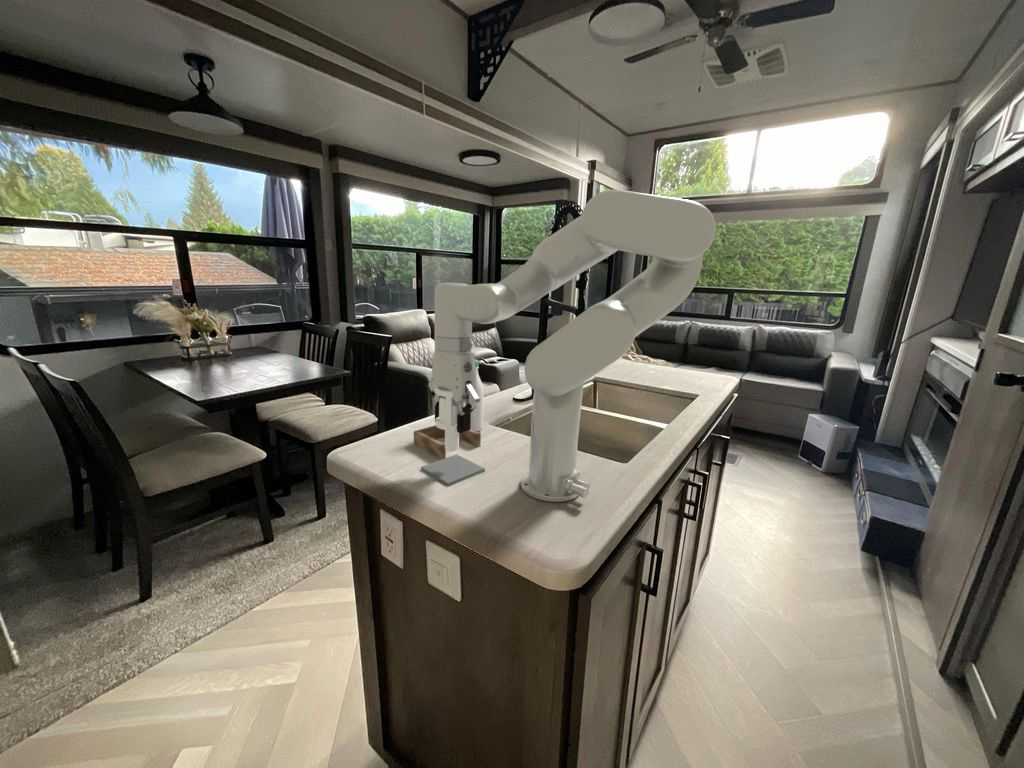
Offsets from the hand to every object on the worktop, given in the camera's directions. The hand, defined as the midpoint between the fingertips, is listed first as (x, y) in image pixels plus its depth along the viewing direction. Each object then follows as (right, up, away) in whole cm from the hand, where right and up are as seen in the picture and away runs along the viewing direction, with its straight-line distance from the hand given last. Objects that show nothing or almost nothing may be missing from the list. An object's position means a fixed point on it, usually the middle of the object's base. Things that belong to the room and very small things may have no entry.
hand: (452, 425), depth 87 cm
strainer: (0, -5, +1) cm, 5 cm away
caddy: (-4, -7, +16) cm, 18 cm away
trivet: (0, -10, +3) cm, 11 cm away
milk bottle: (+1, -4, +28) cm, 28 cm away
